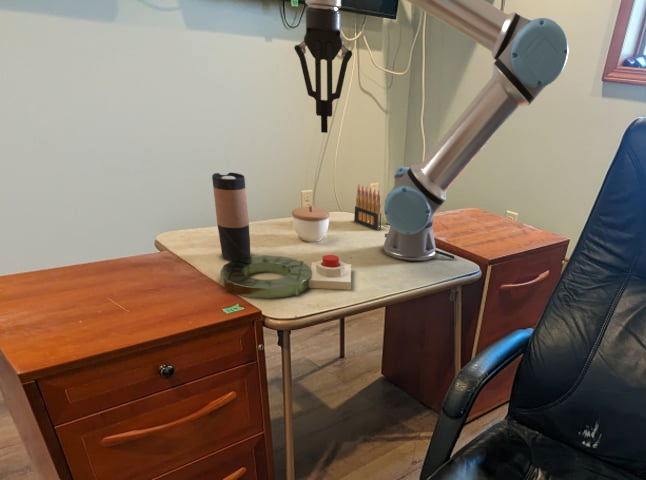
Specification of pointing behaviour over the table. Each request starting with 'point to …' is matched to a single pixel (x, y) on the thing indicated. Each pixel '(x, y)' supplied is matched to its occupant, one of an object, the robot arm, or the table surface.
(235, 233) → the travel mug
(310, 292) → the table surface
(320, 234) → the trinket box
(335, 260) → the switch button
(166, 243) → the table surface
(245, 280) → the ring
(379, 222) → the ammunition clip
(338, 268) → the switch box
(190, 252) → the table surface
